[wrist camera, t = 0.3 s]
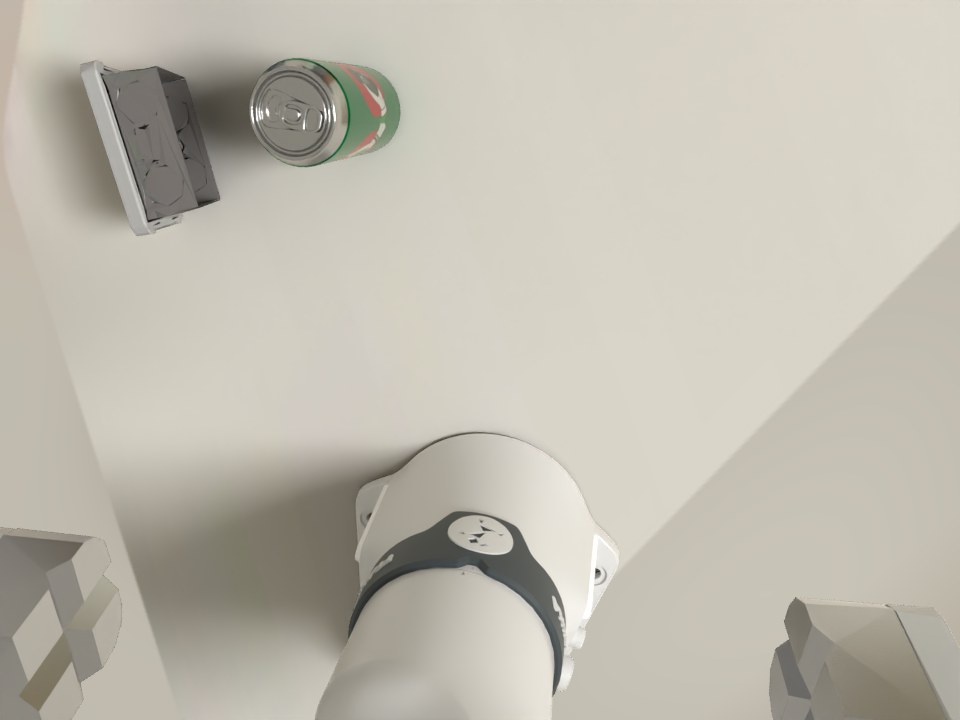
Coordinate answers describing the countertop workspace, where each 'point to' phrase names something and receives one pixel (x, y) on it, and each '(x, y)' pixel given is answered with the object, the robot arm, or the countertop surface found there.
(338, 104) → the soda can
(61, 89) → the countertop surface
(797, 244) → the countertop surface
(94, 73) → the electrical switch
